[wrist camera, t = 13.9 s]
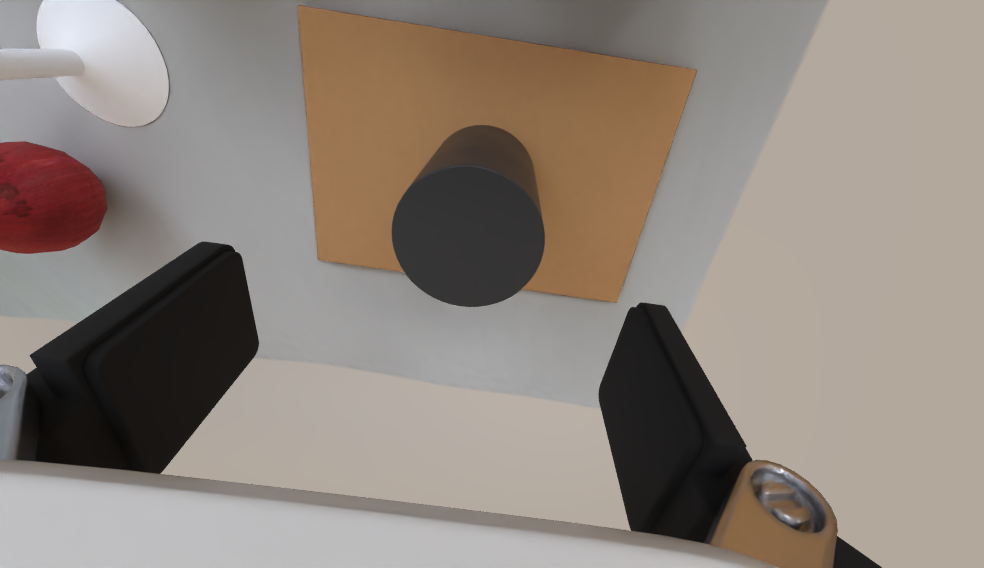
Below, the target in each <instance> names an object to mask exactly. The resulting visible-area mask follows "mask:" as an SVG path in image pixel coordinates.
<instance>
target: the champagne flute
mask: <svg viewBox="0 0 984 568" xmlns="http://www.w3.org/2000/svg"><path fill="white" fill-rule="evenodd" d="M36 26H37V36H38V41H39V45H40V48H41V49H0V80H11V79H28V78H44V77H55V79H56V80H57V81H58V83H59V84H60V85H61V86H62V88H63V89H64V90H65V91H66V92H67V93H68V94H69V95H70V96H71V97H72V98H73V99H74V100H75V101H76V102H77V103H78V104H79V105H81V106H82V107H83V108H84V109H86V110H87V111H88V112H90V113H92V114H93V115H95V116H97V117H99V118H100V119H103V120H105V121H107V122H110V123H112V124H116V125H121V126H128V127H137V126H142V125H146V124H148V123H150V122H152V121H154V120H155V119H156V118H157V117H158V116H159V115H160V114H161V113H162V111H163V109H164V108H165V106H166V103H167V99H168V95H169V80H168V73H167V69H166V66H165V63H164V59H163V56H162V54H161V52H160V50H159V48H158V46H157V44H156V42H155V41H154V39H153V38H152V36H151V35H150V33H149V32H148V30H147V29H146V28H145V27H144V25H143V24H142V23H141V22H140V21H139V20H138V19H137V17H136V16H135V15H134V14H132V13H131V12H130V11H129V10H128V9H127V8H126V7H125V6H123V5H122V4H121V3H119V2H118V1H116V0H44V1H43V2H42V3H41V6H40V9H39V11H38V15H37V25H36Z"/></svg>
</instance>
